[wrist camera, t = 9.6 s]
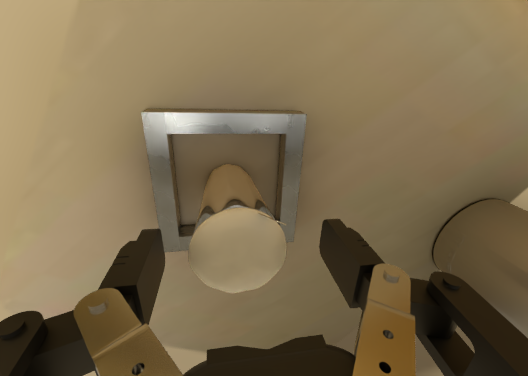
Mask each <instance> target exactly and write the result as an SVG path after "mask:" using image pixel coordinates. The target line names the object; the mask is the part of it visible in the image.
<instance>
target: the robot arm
mask: <svg viewBox="0 0 528 376" xmlns="http://www.w3.org/2000/svg"><path fill="white" fill-rule="evenodd" d="M319 247H320V254H321V257H322V258H323V260H324V262H325V264H326V266H327V267H328V269H329V271H330V273H331V275H332V276H333V278H334V280H335V282H336V283H337V285H338V287H339V289H340V291H341V292H342V294H343V296H344V298H345V300H346V301H347V303H348V305H349V307H350V308H357V307H360V308H361V309H362V314H361V318H360V323H359V328H358V333H357V337H356V341H355V346H354V351H353V354H351V353H350V352H348V351H346V350H344V349H341V348H339V347H336V346H332V345H327V344H326V343H325V340H324V338H323V335H316V336H308V337H300V338H295V339H292V340H290V341H288V342H285V343H283V344H280V345H278V346H276V347H273V348H271V349H258V348H250V347H242V346H232V347H225V348H217V349H210V350H207V360H206V361H204V362H202V363H200V364H198V365H196V366H194V367H193V368H191V369H190V370H189V371H187V372H186V373H185V374H184V375H183V374H182V373H181V371H180V370H179V368H178V367H177V366H176V364H175V363H174V361H173V360H172V358H171V357H170V356H169V355H168V353H167V351H166V350H165V348H164V347H163V345H162V344H161V343H160V341H159V340H158V338H157V337H156V335H155V334H154V333H153V331H152V330H151V328H150V327H149V326H148V325H149V321H150V318H151V314H152V311H153V307H154V304H155V300H156V296H157V293H158V289H159V286H160V282H161V279H162V275H163V272H164V267H165V253H164V247H163V240H162V234H161V230H160V229H144V230H142V231H141V233H140V235H139V237H138V239H137V241H129V242H128V243H127V244H126V245H125V246H123V247H122V248H121V249H120V251H119V253H118V255H117V256H116V259H115V260H114V262H113V264H112V266H111V267H110V269H109V271H108V272H107V274H106V276H105V278H104V280H103V281H102V283H101V285H100V287H99V289H98V290H97V291H94V292H92V293H90V294H88V295H87V296H85V297H84V298H82V299H81V300H80V301H79V302H78V304H77V305H76V306H75V308H74V310H72V311H70V312H67V313H64V314H61V315H58V316H54V317H51V318H48V319H45V320H44V318H43V316H42V314H41V313H39V312H37V311H25V312H21V313H18V314H15V315H12V316H10V317H8V318H6V319H4V320H3V321H1V322H0V376H83V375H85V374H87V373H90V372H92V371H95V373H96V375H97V376H416V347H415V346H416V344H415V334H416V335H417V337H418V338H419V340H420V341H421V343H422V344H423V345H424V347H425V348H426V350H427V351H428V353H429V354H430V356H431V357H432V358H433V360H434V361H435V363H436V364H437V366H438V367H439V369H440V370H441V372H442V373H443V375H444V376H528V211H526V210H523V209H521V208H519V207H517V206H514V205H512V204H510V203H508V202H505V201H503V200H498V199H488V200H484V201H480V202H477V203H475V204H473V205H471V206H469V207H467V208H466V209H464V210H462V211H461V212H460V213H458V214H457V215H456V216H455V217H453V218H452V219H451V220H450V222H449V223H448V224H447V225H446V226H445V227H444V229H443V230H442V231H441V233H440V234H439V236H438V238H437V241H436V243H435V246H434V250H433V258H434V262H435V264H436V266H437V267H438V268H439V269H440V270H441V271H442V272H434V273H432V274H431V276H430V279H429V281H426V280H419V279H413V278H410V277H409V276H408V274H407V273H406V272H405V271H403V270H402V269H400V268H399V267H396V266H394V265H391V264H385V263H384V262H383V261H382V259H381V258H380V257H379V256H378V255H377V254H376V253H375V251H374V250H373V249H372V248H371V247H370V246H369V245H368V243H367V242H366V241H364V239H363V238H362V237H361V235H360V234H359V233H358V232H356V231H354V230H353V229H351V228H347V227H346V226H345V225H344V224H343V222H342V221H341V220H340V219H326V220H324V221H323V224H322V231H321V238H320V246H319ZM457 325H458V326H459V327H460V328H461V330H462V331H463V332H464V333H465V334H466V336H467V337H468V338H469V339H470V340H471V342H472V344H473V346H474V350H475V354H474V352H473V351H472V350H471V349H470V348H469V346H468V345H467V344H466V343H465V342H464V341H463V340H462V338H461V337H460V336H459V335H458V334H457V332H456V331H455V329H456V327H457Z"/></svg>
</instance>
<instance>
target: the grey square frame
mask: <svg viewBox="0 0 528 376" xmlns="http://www.w3.org/2000/svg"><path fill="white" fill-rule="evenodd" d="M141 115H142V121H143V128H144V134H145V141H146V147H147V153H148V160H149V166H150V173H151V179H152V186H153V192H154V198H155V205H156V211H157V218H158V224H159V229H160V230H161V234H162V240H163V247H164V252H175V251H187V250H189V245H190V242H191V239H192V235H193V232H194V229H195V226H196V225H187V226H181V220H180V211H179V202H178V193H177V185H176V176H175V167H174V158H173V149H172V140H171V134H281V137H280V153H279V168H278V184H277V199H276V215H275V220H278V221H280V222H282V223H285V224H286V225H283V224H281V223H278V222H277V223H278V224H279V225H280V227H281V228H282V230H283V232H284V235H285V240H286V242H294V232H295V223H296V213H297V203H298V194H299V184H300V174H301V164H302V155H303V145H304V135H305V126H306V116H307V114H305V113H303V112H301V111H274V110H202V109H146V110H144V111H142V112H141Z"/></svg>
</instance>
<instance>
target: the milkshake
mask: <svg viewBox="0 0 528 376" xmlns="http://www.w3.org/2000/svg"><path fill="white" fill-rule="evenodd" d="M277 222H278V223H281V224H283V225H286V224H285V223H282V222H280V221H278V220H275V218H274V216H273V215H272V213H271V212H270V210H269V209H268V207H267V206H266V204H265V202H264V200H263V199H262V197H261V195H260V193H259V191H258V190H257V188H256V186H255V184H254V183H253V181H252V179H251V177H250V176H249V174H248V173H246V172H245V171H244V170H243V169H242V168H241V167H240V166H237V165H230V164H224V165H222V166H220V167H218V168H216V169H214V170H213V171H212V173H211V175H210V177H209V179H208V180H207V183H206V187H205V191H204V195H203V199H202V203H201V208H200V212H199V216H198V219H197V222H196V226H195V229H194V232H193V235H192V239H191V242H190V245H189V251H188V259H189V264H190V267H191V269H192V270H193V271H194V273H195V274H196V275H197V276H198V277H199V278H200V279H201V280H202V281H203V282H204V283H205V284H206V285H207V286H209V287H211V288H214V289H218V290H221V291H224V292H228V293H237V292H242V291H247V290H253V289H257V288H259V287H261V286H263V285H264V284H266V283H267V282H268V281H269V280H271V279H272V278H273V276H274V275H275V274H276V273H277V272H278V271H279V270H280V269H281V267H282V265H283V264H284V261H285V258H286V240H285V235H284V232H283V230H282V228H281V227H280V225H279V224H278V223H277Z"/></svg>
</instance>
